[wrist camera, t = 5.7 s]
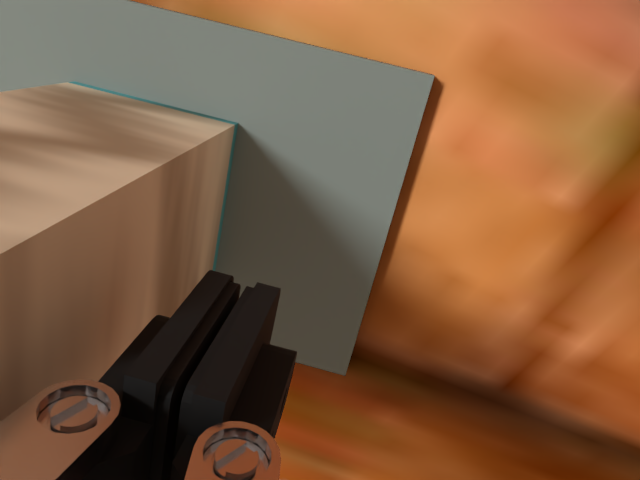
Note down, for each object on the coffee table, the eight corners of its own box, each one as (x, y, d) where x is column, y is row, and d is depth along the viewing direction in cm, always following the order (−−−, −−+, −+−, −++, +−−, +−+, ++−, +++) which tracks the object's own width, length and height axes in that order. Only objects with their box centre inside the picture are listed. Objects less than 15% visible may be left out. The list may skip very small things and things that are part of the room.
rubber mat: (433, 75, 17) (434, 76, 16) (346, 368, 21) (345, 375, 21) (-293, -103, 18) (-311, -107, 18) (-225, 211, 23) (-238, 215, 22)
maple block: (238, 122, 18) (-27, 268, 7) (214, 274, 20) (-11, 565, 9) (74, 81, 18) (-436, 155, 7) (69, 234, 20) (-319, 471, 9)
